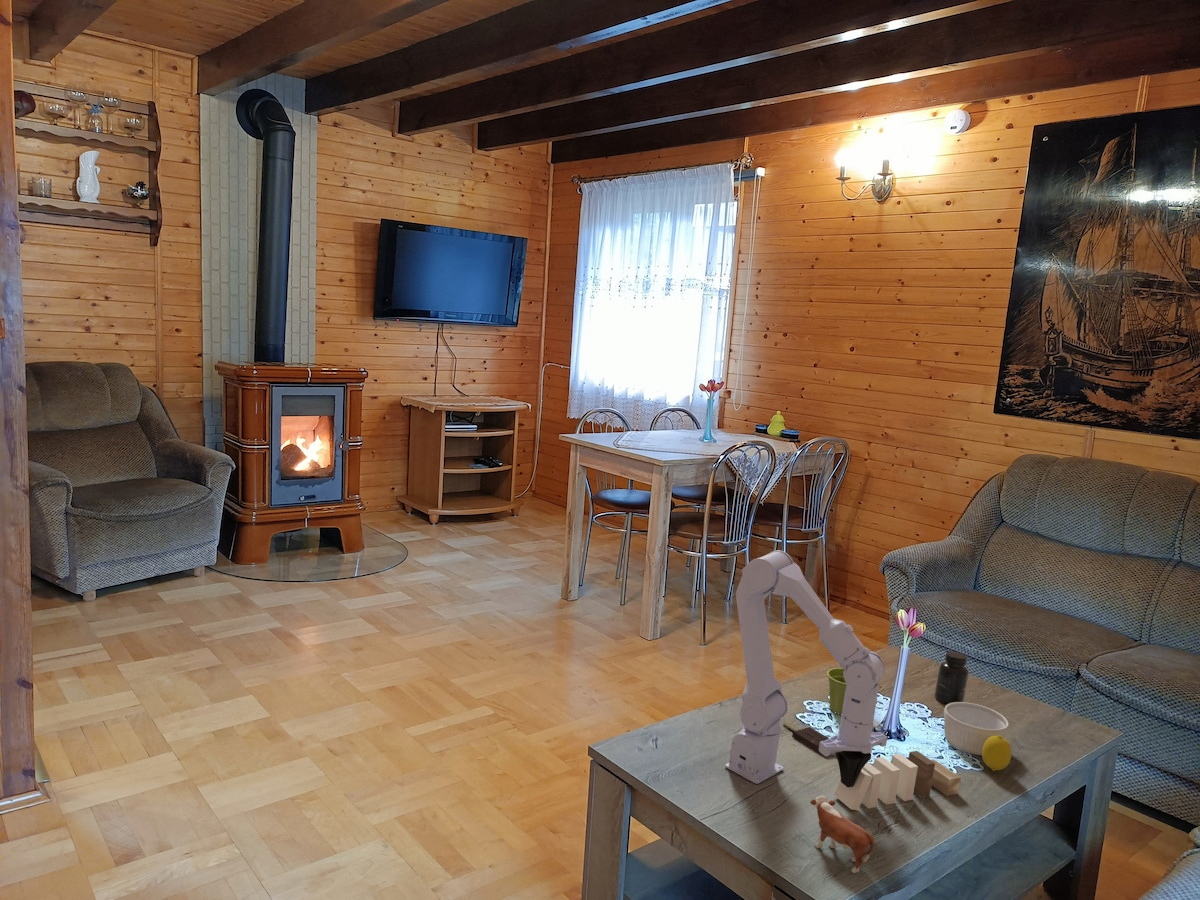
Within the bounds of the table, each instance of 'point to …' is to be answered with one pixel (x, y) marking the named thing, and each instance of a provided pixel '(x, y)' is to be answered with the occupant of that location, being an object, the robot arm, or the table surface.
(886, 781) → the domino
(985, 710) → the ramekin
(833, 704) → the plant pot
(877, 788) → the domino
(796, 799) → the table surface
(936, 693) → the supplement bottle
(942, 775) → the end block
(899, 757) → the domino
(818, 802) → the bull figurine
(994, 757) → the lemon
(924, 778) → the domino
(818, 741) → the ice cream bar
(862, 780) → the domino
